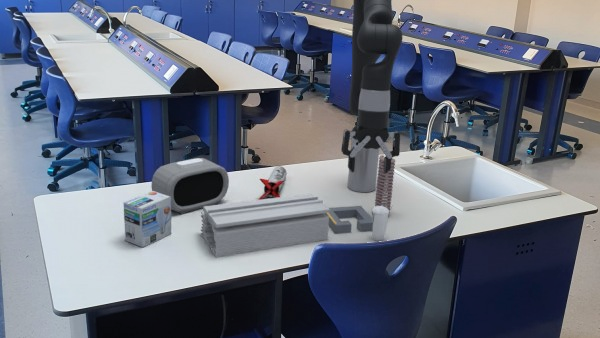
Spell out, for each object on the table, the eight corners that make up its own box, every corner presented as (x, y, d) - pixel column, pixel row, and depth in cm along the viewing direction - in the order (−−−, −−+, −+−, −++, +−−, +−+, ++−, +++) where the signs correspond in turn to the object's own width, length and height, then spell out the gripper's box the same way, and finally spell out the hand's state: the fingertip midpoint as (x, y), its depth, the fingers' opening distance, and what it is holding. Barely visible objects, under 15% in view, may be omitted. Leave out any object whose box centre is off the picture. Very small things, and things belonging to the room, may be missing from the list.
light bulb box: (142, 248, 151) (141, 208, 148) (124, 241, 154) (121, 202, 151) (172, 233, 160) (172, 195, 156) (154, 227, 163) (153, 189, 159)
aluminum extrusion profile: (200, 234, 161) (200, 199, 158) (305, 219, 173) (307, 187, 170) (216, 258, 149) (216, 221, 145) (327, 240, 161) (330, 206, 158)
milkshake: (388, 243, 160) (392, 208, 157) (368, 240, 161) (371, 206, 158) (389, 236, 165) (393, 202, 161) (370, 233, 166) (373, 199, 162)
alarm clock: (168, 218, 169) (167, 173, 164) (152, 207, 175) (150, 163, 171) (229, 202, 182) (229, 160, 177) (211, 192, 188) (211, 151, 184)
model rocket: (302, 173, 204) (283, 150, 203) (294, 193, 182) (273, 168, 180) (277, 191, 207) (259, 169, 205) (267, 214, 184) (246, 189, 183)
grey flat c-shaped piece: (321, 215, 175) (322, 207, 175) (360, 213, 179) (361, 204, 178) (334, 233, 165) (335, 224, 164) (375, 230, 168) (376, 221, 167)
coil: (391, 213, 180) (397, 156, 174) (386, 219, 176) (393, 160, 170) (376, 210, 181) (382, 153, 175) (371, 215, 177) (377, 157, 171)
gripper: (398, 106, 152) (392, 168, 156) (342, 104, 151) (338, 167, 155) (406, 111, 145) (400, 176, 149) (347, 109, 143) (342, 174, 147)
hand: (368, 171), depth 152 cm, fingers open, 8 cm apart
